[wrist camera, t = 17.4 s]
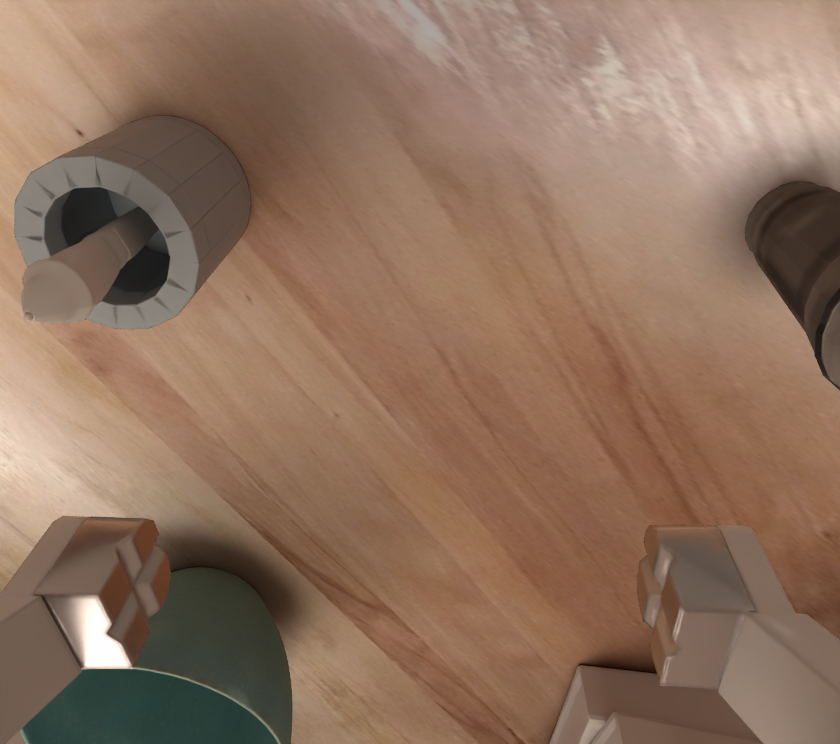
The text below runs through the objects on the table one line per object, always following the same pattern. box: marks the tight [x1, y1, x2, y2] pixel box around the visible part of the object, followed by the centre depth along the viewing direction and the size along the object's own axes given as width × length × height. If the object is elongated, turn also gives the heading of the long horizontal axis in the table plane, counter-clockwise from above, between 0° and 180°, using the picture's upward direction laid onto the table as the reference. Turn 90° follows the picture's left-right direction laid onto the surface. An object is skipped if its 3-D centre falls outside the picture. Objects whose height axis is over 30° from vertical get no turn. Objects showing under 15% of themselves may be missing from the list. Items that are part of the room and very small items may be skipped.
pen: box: [22, 206, 159, 324], centre depth 29 cm, size 2×3×14 cm
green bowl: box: [19, 567, 292, 744], centre depth 49 cm, size 18×18×12 cm
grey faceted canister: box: [14, 116, 250, 329], centre depth 32 cm, size 8×8×8 cm
